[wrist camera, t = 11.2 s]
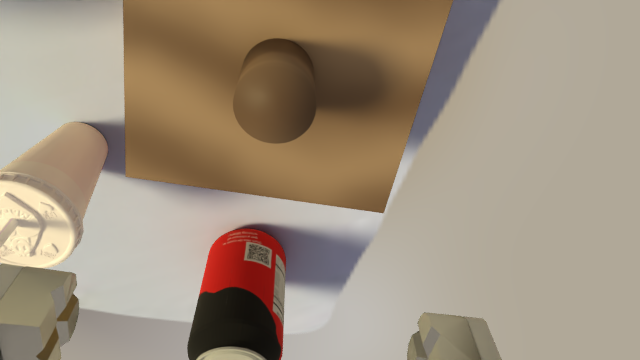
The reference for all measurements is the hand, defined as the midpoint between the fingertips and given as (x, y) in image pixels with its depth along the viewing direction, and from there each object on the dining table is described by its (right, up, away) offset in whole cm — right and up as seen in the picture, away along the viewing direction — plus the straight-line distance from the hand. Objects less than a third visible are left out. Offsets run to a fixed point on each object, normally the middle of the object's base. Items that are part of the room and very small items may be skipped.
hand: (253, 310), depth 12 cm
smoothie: (-16, +6, +24) cm, 29 cm away
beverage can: (-4, -3, +30) cm, 31 cm away
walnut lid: (-1, +9, +14) cm, 17 cm away
